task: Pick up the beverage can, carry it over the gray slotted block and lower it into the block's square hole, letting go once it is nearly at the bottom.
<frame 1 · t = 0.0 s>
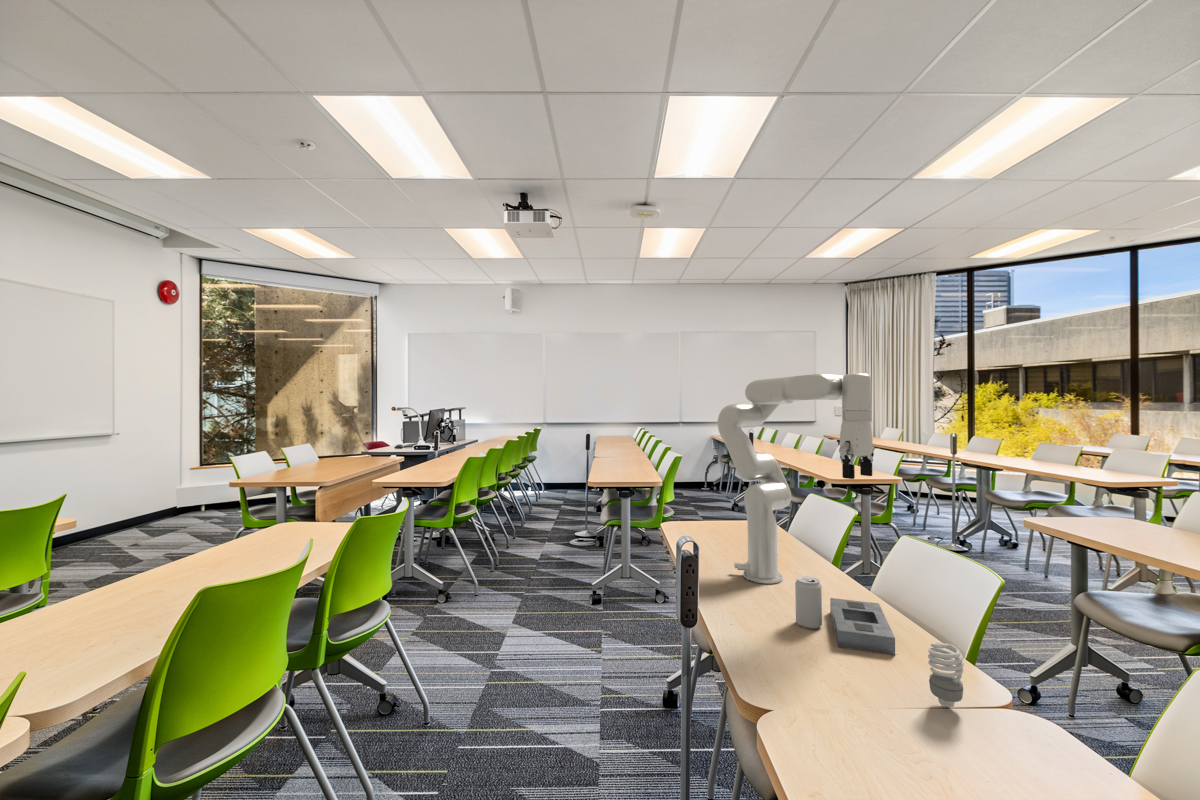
hand: (857, 476, 145), 37 cm above the table, tool pointing down, fingers open, 9 cm apart
light bulb: (946, 708, 96), on the table
gray slotted block: (859, 631, 129), on the table
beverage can: (808, 625, 134), on the table
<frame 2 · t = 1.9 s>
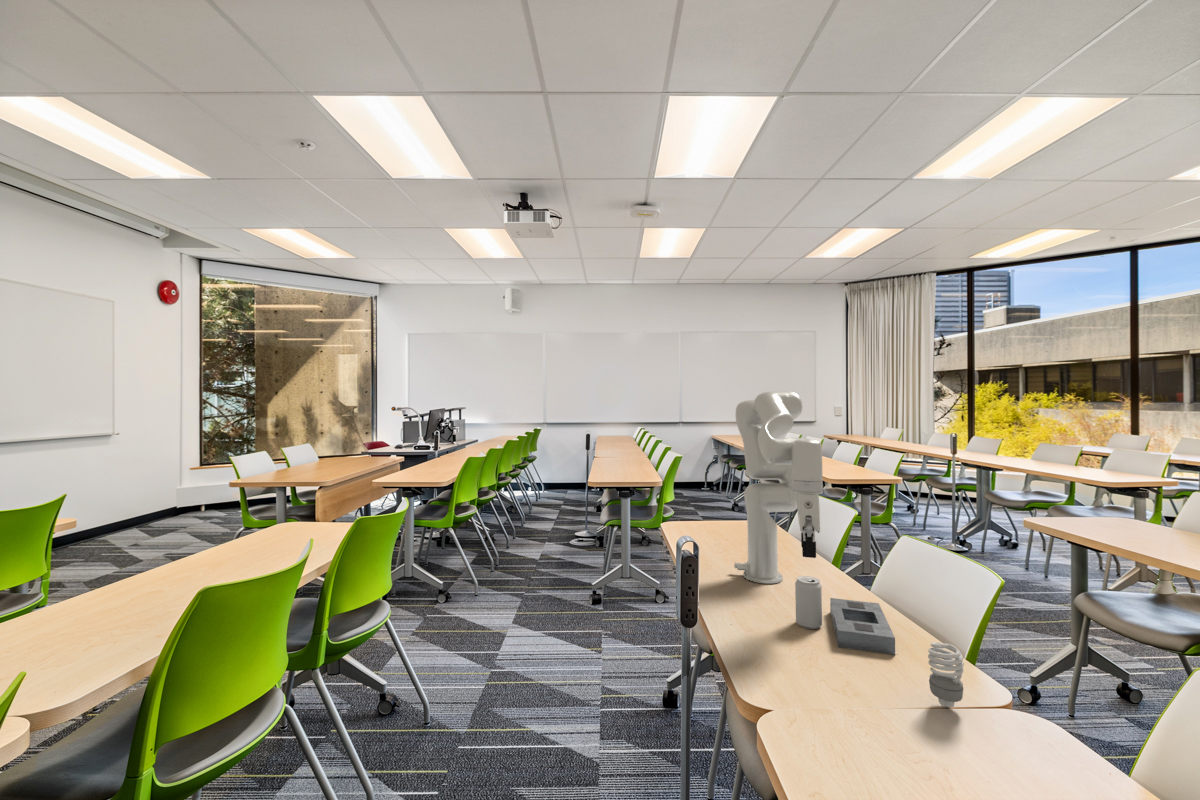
hand: (808, 552, 133), 19 cm above the table, tool pointing down, fingers open, 9 cm apart
nothing on the table moved.
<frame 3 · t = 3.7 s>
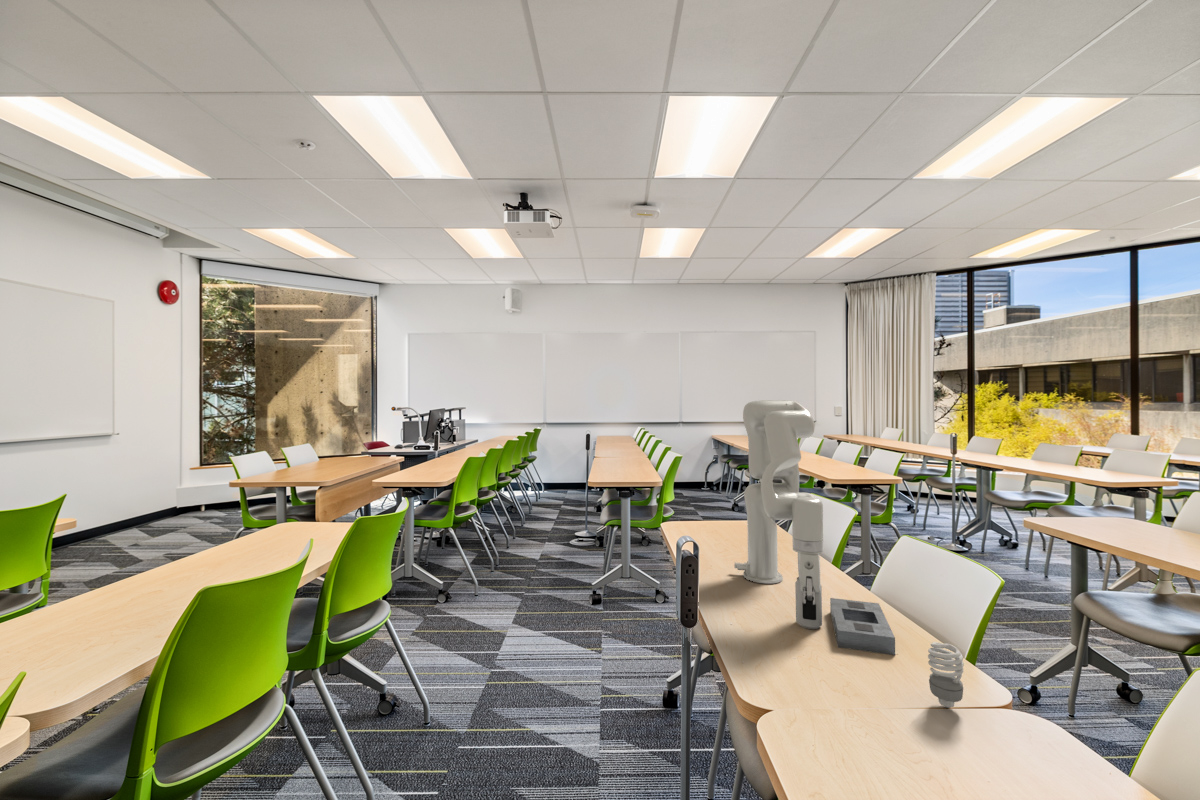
hand: (808, 613, 133), 3 cm above the table, tool pointing down, fingers closed on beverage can, 6 cm apart
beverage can: (808, 625, 134), on the table, touching gripper
everything else where it was.
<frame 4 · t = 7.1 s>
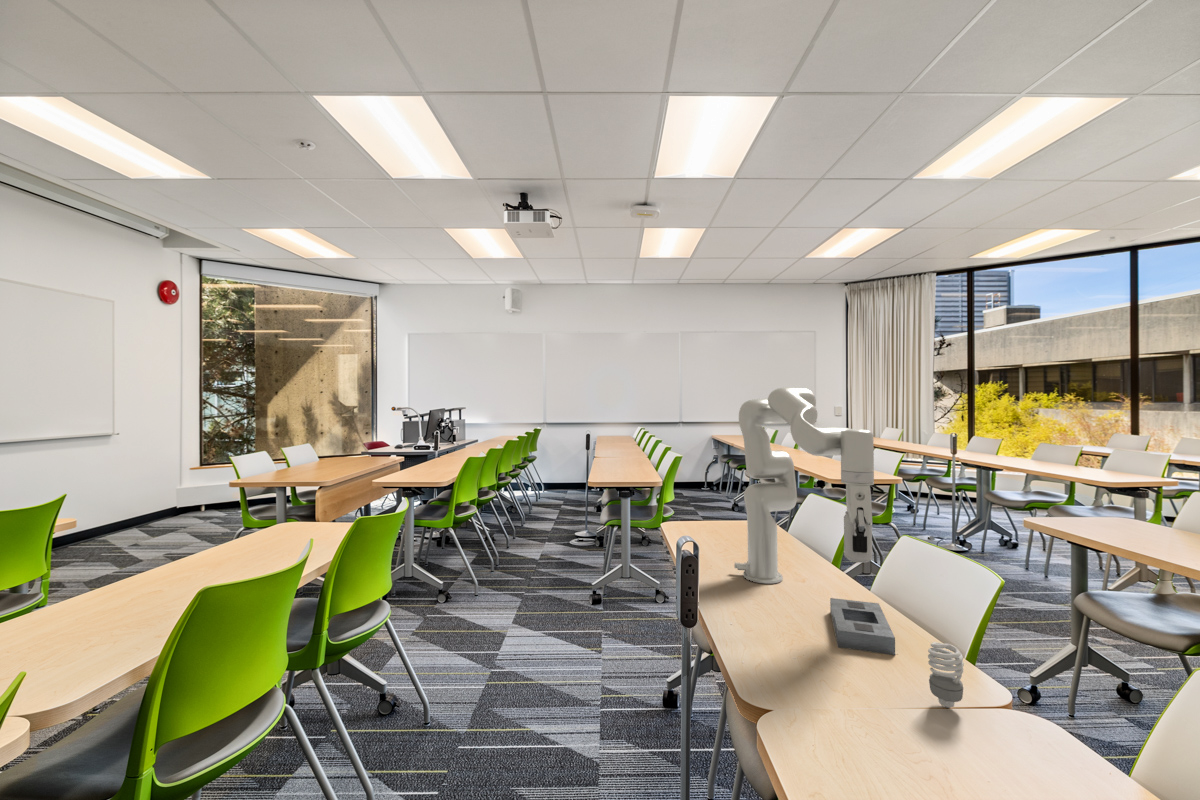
hand: (858, 547, 130), 21 cm above the table, tool pointing down, fingers closed on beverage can, 6 cm apart
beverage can: (858, 560, 130), point 18 cm above the table, touching gripper
everything else where it was.
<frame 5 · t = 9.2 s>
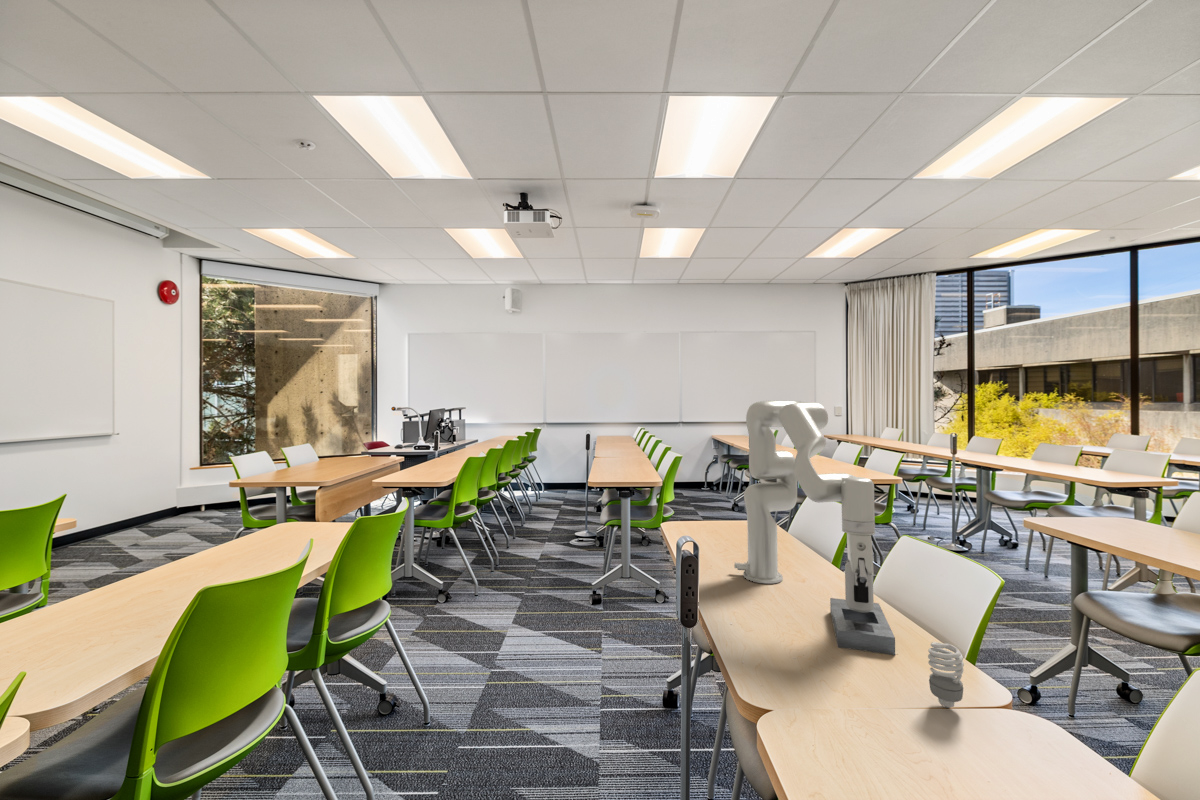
hand: (859, 596, 129), 9 cm above the table, tool pointing down, fingers closed on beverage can, 6 cm apart
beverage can: (859, 609, 130), point 6 cm above the table, touching gripper
everything else where it was.
when the fingers open (4 cm above the table, at t = 10.7 s): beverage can drops 1 cm, resting in gray slotted block.
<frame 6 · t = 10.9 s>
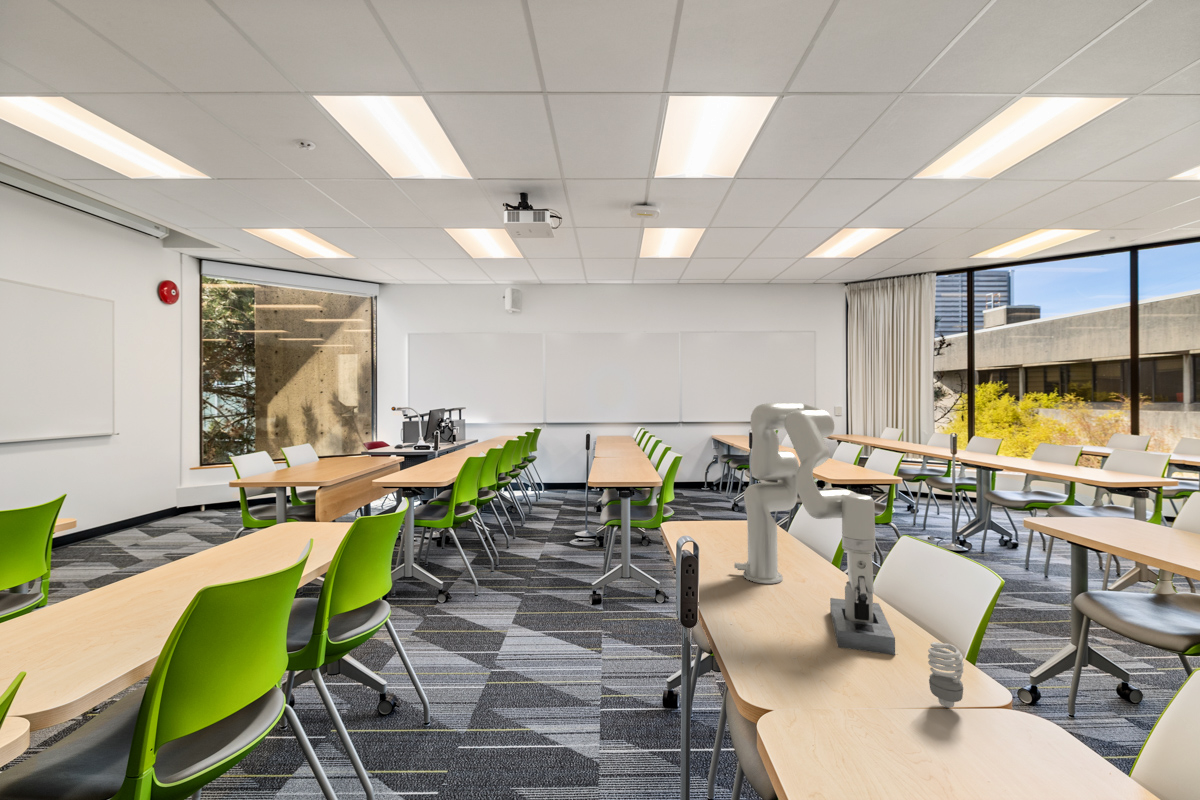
hand: (859, 612, 129), 5 cm above the table, tool pointing down, fingers open, 8 cm apart
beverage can: (859, 632, 130), resting in gray slotted block
everything else where it was.
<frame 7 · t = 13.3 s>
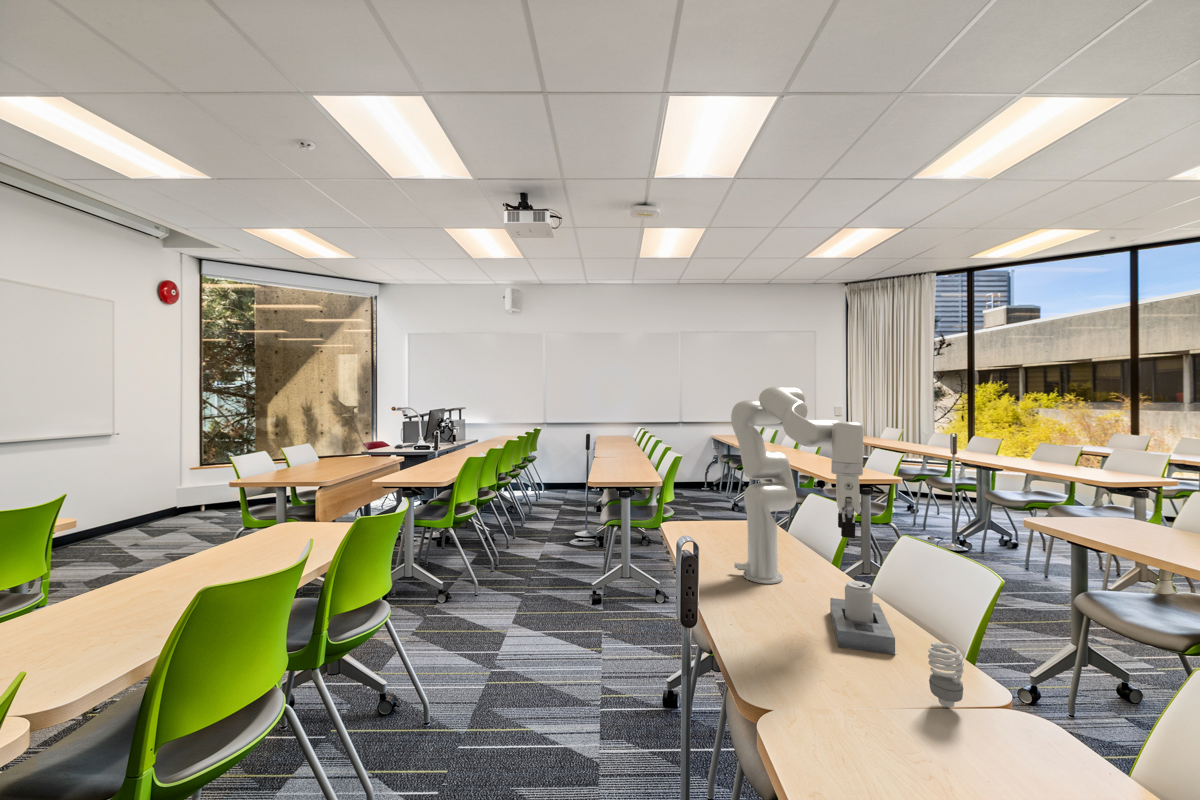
hand: (846, 532, 135), 24 cm above the table, tool pointing down, fingers open, 9 cm apart
nothing on the table moved.
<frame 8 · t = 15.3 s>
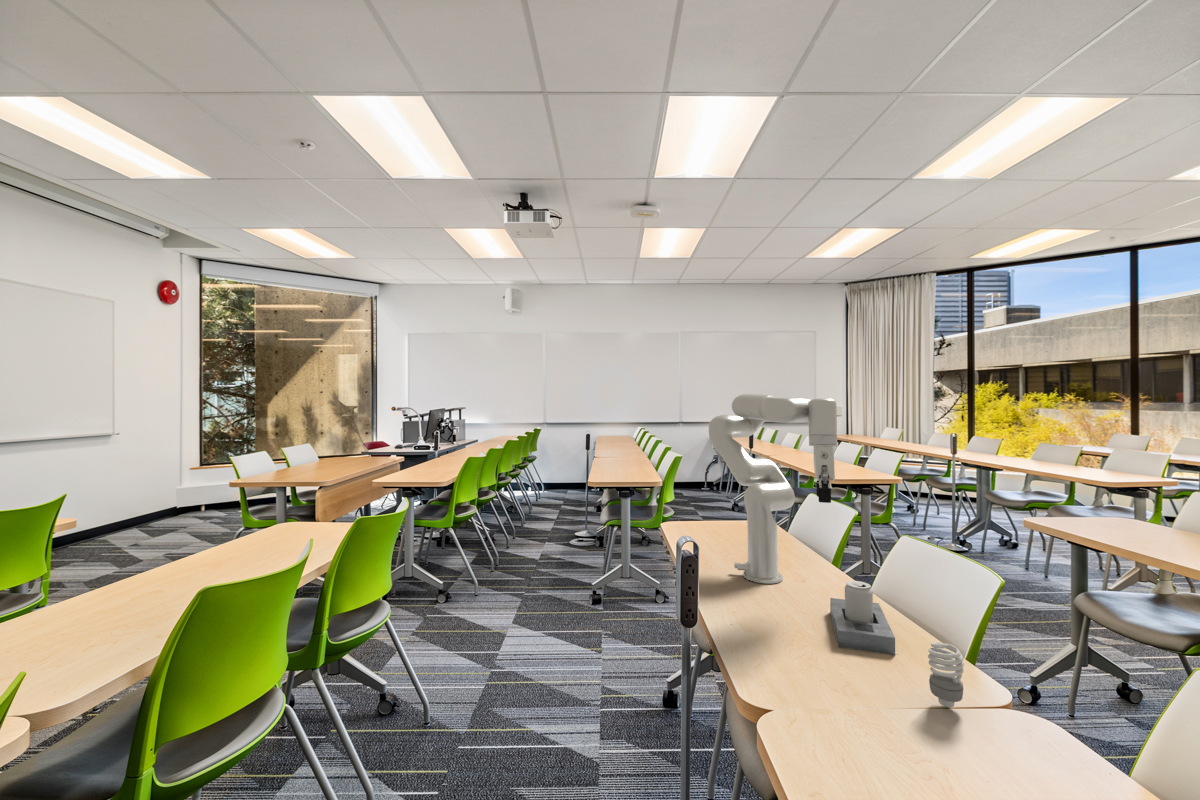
hand: (823, 499, 148), 30 cm above the table, tool pointing down, fingers open, 9 cm apart
nothing on the table moved.
at the end: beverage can 0.3 cm off-centre on the gray slotted block, point 0.0 cm above the gray slotted block's base; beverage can tilted 0°; the gripper is holding nothing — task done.
